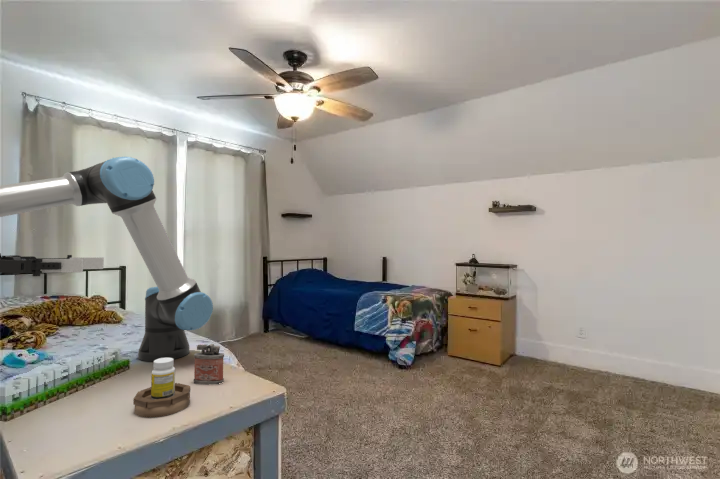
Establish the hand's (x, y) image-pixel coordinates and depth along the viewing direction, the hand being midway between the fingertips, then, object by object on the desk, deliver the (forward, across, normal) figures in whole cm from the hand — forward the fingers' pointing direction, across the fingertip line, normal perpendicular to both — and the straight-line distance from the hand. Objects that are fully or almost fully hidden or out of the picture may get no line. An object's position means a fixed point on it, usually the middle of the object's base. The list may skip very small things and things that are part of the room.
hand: (93, 264), depth 82 cm
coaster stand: (+15, +3, -32) cm, 35 cm away
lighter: (+24, -10, -32) cm, 41 cm away
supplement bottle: (+15, +3, -30) cm, 34 cm away
